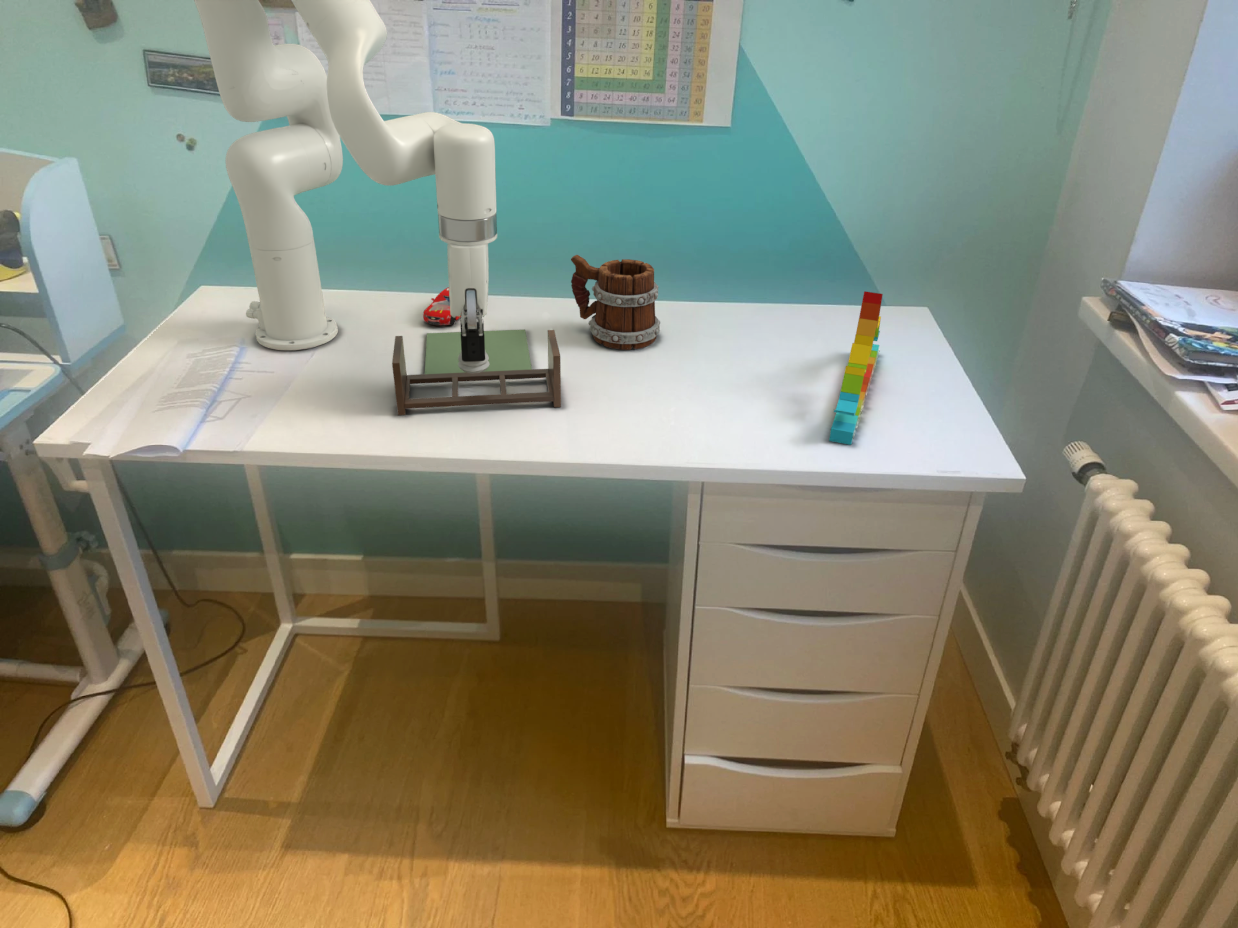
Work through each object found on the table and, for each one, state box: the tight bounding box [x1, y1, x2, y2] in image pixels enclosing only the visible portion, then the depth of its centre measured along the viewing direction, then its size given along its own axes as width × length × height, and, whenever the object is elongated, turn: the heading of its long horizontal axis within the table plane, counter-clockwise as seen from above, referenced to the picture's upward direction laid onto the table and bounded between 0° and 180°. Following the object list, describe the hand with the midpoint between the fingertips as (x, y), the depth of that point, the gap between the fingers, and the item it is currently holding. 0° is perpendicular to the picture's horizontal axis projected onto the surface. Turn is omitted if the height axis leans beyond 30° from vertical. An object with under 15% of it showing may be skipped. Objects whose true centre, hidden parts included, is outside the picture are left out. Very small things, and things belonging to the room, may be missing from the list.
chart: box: [828, 291, 883, 446], centre depth 132 cm, size 30×3×15 cm, turn 160°
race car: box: [422, 286, 466, 326], centre depth 157 cm, size 13×5×4 cm, turn 161°
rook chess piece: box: [458, 318, 490, 373], centre depth 128 cm, size 4×4×8 cm
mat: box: [424, 329, 533, 374], centre depth 144 cm, size 16×16×1 cm
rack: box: [391, 329, 562, 416], centre depth 130 cm, size 9×23×8 cm, turn 99°
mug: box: [570, 254, 661, 351], centre depth 148 cm, size 12×14×15 cm
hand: (473, 352), depth 129 cm, fingers closed on rook chess piece, 3 cm apart
